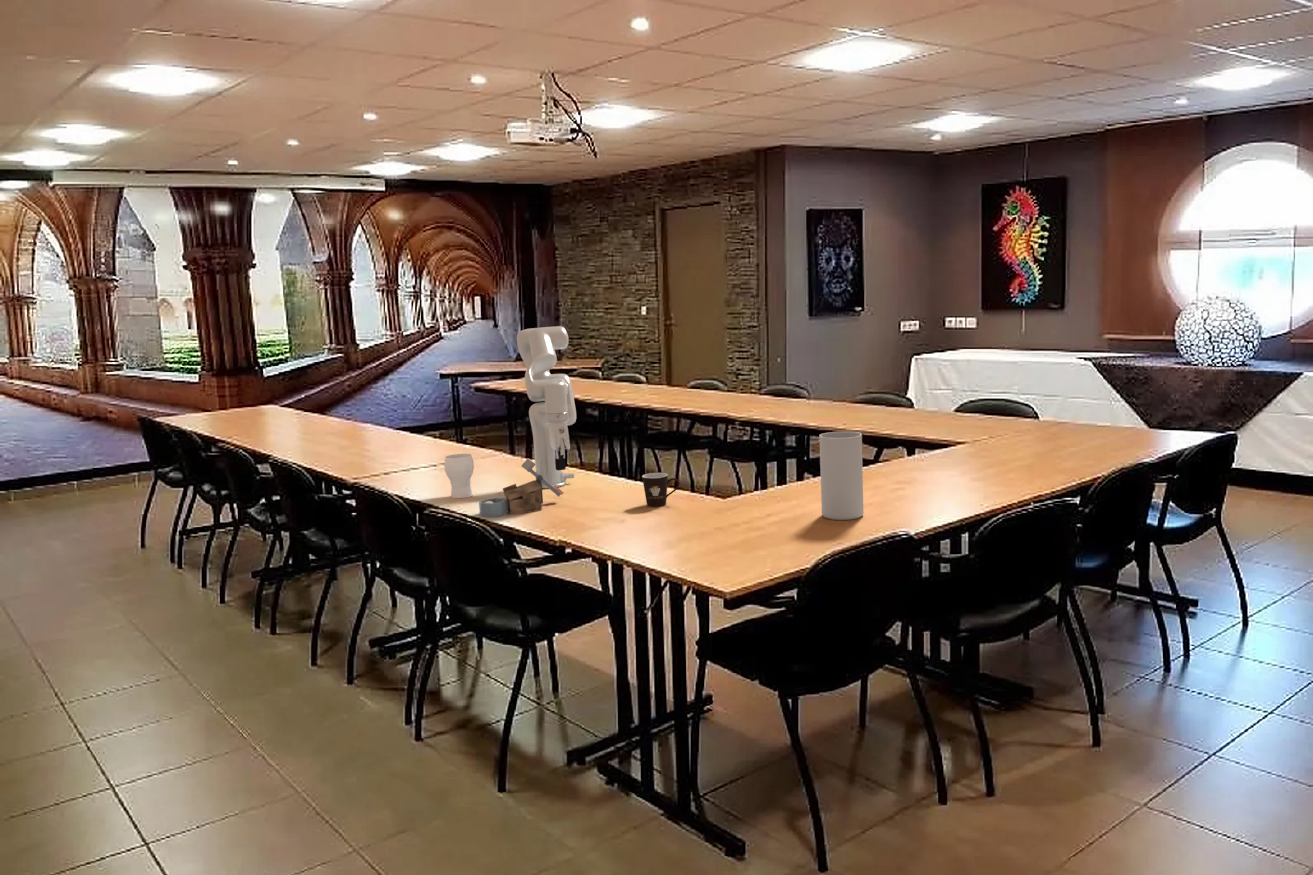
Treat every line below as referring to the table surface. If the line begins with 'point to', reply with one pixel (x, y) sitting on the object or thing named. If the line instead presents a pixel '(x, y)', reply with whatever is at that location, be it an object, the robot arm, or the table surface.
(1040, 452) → the table surface
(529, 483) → the cardboard box
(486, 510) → the pot
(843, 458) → the cylinder vase
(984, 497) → the table surface
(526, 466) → the lever
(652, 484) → the coffee mug
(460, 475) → the cup
